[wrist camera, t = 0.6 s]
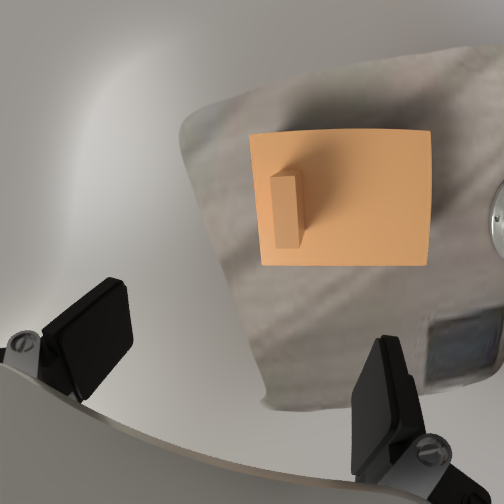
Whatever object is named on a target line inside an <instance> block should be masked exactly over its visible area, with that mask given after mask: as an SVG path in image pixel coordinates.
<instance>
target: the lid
mask: <svg viewBox="0 0 504 504" xmlns="http://www.w3.org/2000/svg"><path fill="white" fill-rule="evenodd" d="M249 140H250V150H251V159H252V169H253V179H254V189H255V199H256V209H257V219H258V229H259V240H260V250H261V261H262V265H295V266H423V265H426V264H427V255H428V245H429V234H430V219H431V197H432V153H431V131H423V130H403V129H321V130H301V131H286V132H273V133H262V134H252V135H249Z"/></svg>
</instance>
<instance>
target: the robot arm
mask: <svg viewBox="0 0 504 504" xmlns="http://www.w3.org/2000/svg"><path fill="white" fill-rule="evenodd" d="M489 229H490V236H491V240H492V243H493V245H494V247H495V249H496V251H497V252H498V254H499V255H500V256H501V257H502V258H503V259H504V182H503V183H502V184H501V185H500V187H499V189H498V190H497V192H496V194H495V197H494V199H493V202H492V206H491V210H490V217H489ZM42 333H43V336H42V337H41V338H40V336H39V335H38V334H37V333H36V332H34V331H27V330H26V331H21V332H19V333H16V334H15V335H13V336H12V337H11V338H10V339H9V341H8V343H7V347H6V348H0V504H491V497H490V495H489V493H488V492H487V491H486V490H485V489H484V488H483V487H482V486H480V485H479V484H478V483H476V482H475V481H473V480H472V479H471V478H469V477H468V476H466V475H465V474H464V473H463V472H461V471H460V470H459V469H457V468H456V467H455V466H453V465H452V464H451V463H450V462H451V459H452V450H451V447H450V445H449V444H448V442H447V441H446V440H445V439H444V438H443V437H441V436H439V435H437V434H432V433H428V434H426V430H425V425H424V420H423V416H422V411H421V407H420V402H419V398H418V394H417V390H416V385H415V382H414V378H413V376H412V375H409V374H408V370H407V366H406V362H405V359H404V355H403V351H402V348H401V344H400V341H399V338H398V337H396V336H389V335H382V336H381V338H376V339H375V341H374V344H373V346H372V349H371V351H370V354H369V356H368V358H367V361H366V363H365V365H364V368H363V370H362V372H361V374H360V376H359V379H358V381H357V383H356V385H355V387H354V389H353V392H352V398H351V404H352V456H351V457H352V458H351V473H352V475H356V478H355V482H349V481H341V480H330V479H321V478H313V477H306V476H299V475H293V474H287V473H281V472H275V471H270V470H265V469H260V468H255V467H251V466H246V465H242V464H238V463H233V462H230V461H226V460H222V459H219V458H215V457H211V456H208V455H205V454H201V453H198V452H195V451H192V450H188V449H185V448H182V447H180V446H177V445H174V444H171V443H168V442H165V441H163V440H160V439H157V438H155V437H152V436H149V435H147V434H144V433H142V432H140V431H137V430H135V429H133V428H130V427H128V426H126V425H123V424H121V423H119V422H116V421H115V420H112V419H110V418H108V417H106V416H104V415H102V414H100V413H98V412H96V411H94V410H92V409H90V408H88V407H86V406H84V405H82V404H81V403H82V401H83V400H87V399H88V398H89V397H90V396H91V395H92V394H93V392H94V391H95V390H96V389H97V387H98V386H99V385H100V384H101V383H102V381H103V380H104V379H105V378H106V377H107V375H108V374H109V373H110V372H111V371H112V369H113V368H114V367H115V366H116V365H117V363H118V362H119V361H120V360H121V359H122V357H123V356H124V355H125V354H126V353H127V351H128V350H129V349H130V348H131V347H132V344H133V333H132V325H131V318H130V311H129V304H128V294H127V287H126V286H125V285H124V283H123V281H122V280H119V279H115V278H112V277H108V278H107V279H105V280H104V281H103V282H101V283H100V284H99V285H97V286H96V287H95V288H93V289H92V290H91V291H89V292H88V293H87V294H86V295H84V296H83V297H82V298H81V299H79V300H78V301H77V302H75V303H74V304H73V305H71V306H70V307H69V308H68V309H66V310H65V311H64V312H63V313H62V314H60V315H59V316H58V317H57V318H55V319H54V320H53V321H52V322H50V323H49V324H48V325H47V326H46V327H44V328H43V329H42Z"/></svg>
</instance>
